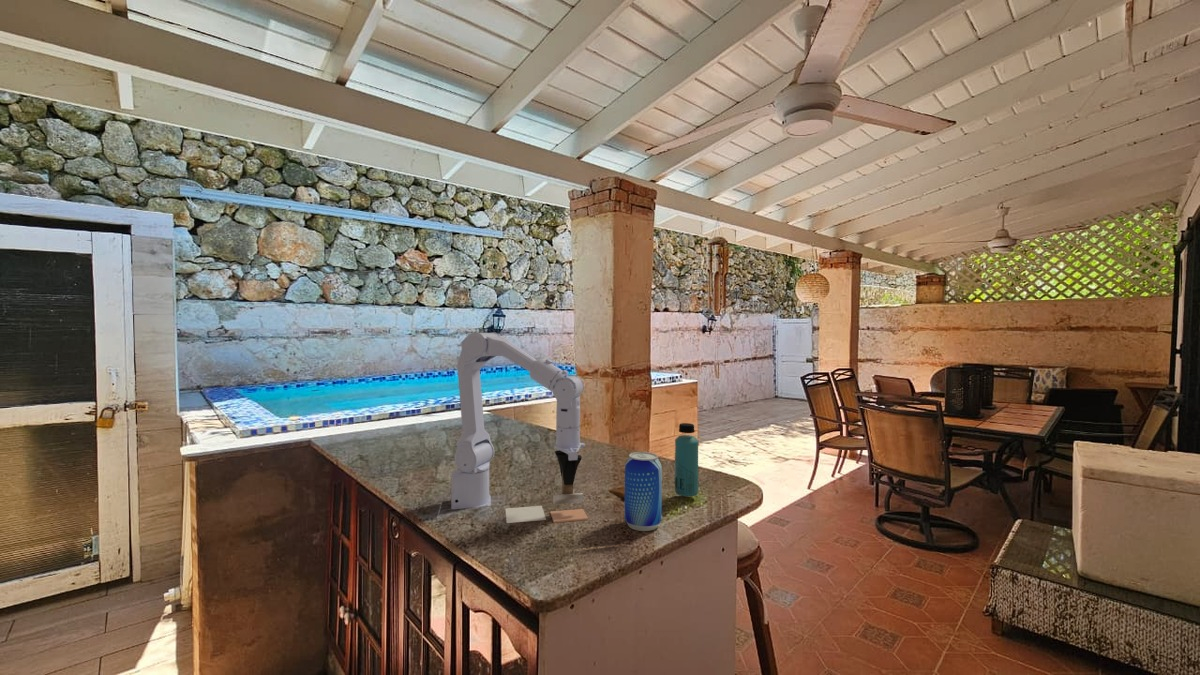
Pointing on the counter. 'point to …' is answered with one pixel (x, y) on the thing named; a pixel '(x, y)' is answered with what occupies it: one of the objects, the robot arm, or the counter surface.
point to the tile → (568, 515)
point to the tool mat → (524, 514)
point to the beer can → (643, 491)
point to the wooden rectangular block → (567, 495)
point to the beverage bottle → (686, 462)
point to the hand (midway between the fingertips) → (567, 482)
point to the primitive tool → (619, 491)
